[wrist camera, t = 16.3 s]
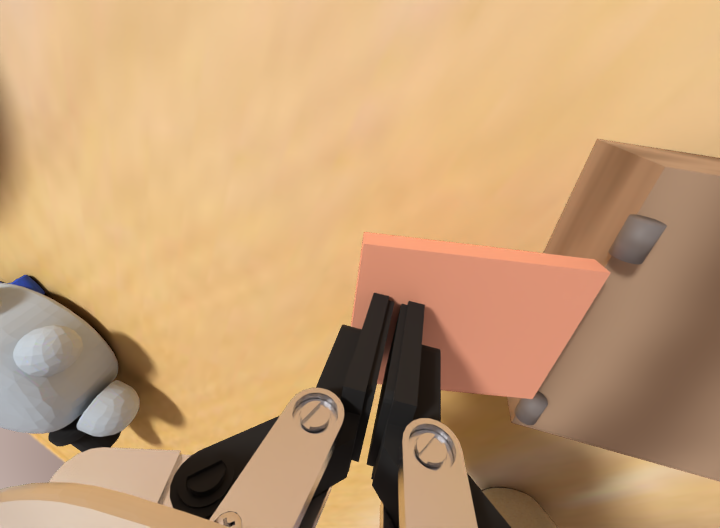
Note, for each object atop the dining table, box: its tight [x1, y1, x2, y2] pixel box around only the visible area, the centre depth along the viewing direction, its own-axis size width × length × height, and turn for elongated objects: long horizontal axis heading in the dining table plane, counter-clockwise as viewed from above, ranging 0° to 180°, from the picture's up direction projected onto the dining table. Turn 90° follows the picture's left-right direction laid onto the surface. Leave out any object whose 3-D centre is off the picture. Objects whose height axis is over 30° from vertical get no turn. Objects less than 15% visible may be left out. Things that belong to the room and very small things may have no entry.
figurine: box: [0, 275, 140, 452], centre depth 28 cm, size 17×8×20 cm
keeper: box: [351, 232, 610, 399], centre depth 12 cm, size 8×6×1 cm
